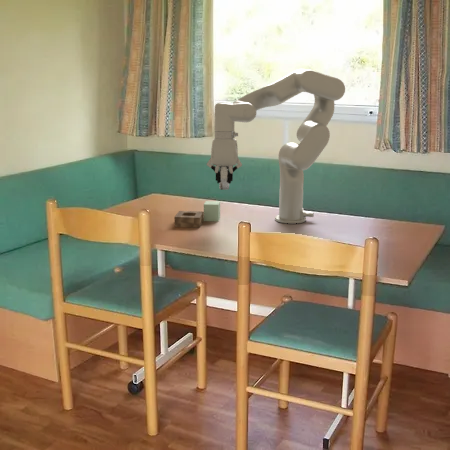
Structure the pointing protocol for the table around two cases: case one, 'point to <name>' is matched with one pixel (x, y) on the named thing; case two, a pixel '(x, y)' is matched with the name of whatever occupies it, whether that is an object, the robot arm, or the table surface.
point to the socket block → (189, 219)
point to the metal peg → (223, 177)
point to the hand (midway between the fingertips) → (224, 182)
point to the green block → (212, 211)
